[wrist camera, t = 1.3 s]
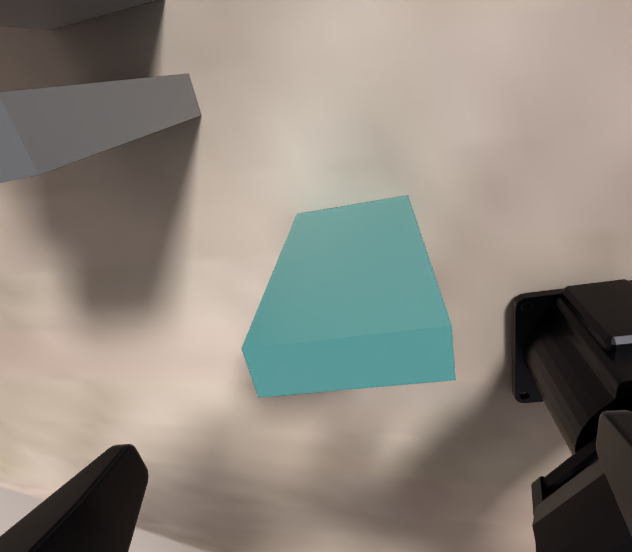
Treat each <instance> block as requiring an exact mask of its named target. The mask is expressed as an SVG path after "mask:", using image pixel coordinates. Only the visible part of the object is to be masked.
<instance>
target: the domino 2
mask: <svg viewBox="0 0 632 552" xmlns="http://www.w3.org/2000/svg"><path fill="white" fill-rule="evenodd" d="M242 352H243V355H244V357H245V360H246V363H247V366H248V369H249V372H250V375H251V378H252V380H253V383H254V386H255V389H256V392H257V395H258V398H260V397H271V396H283V395H294V394H305V393H316V392H328V391H339V390H350V389H361V388H373V387H384V386H395V385H406V384H418V383H429V382H440V381H451V380H456V379H455V365H454V352H453V338H452V325H451V322H450V319H449V316H448V313H447V310H446V307H445V304H444V301H443V298H442V295H441V292H440V289H439V286H438V283H437V280H436V277H435V274H434V271H433V268H432V265H431V262H430V259H429V256H428V253H427V250H426V247H425V244H424V241H423V238H422V235H421V232H420V229H419V226H418V223H417V220H416V217H415V214H414V211H413V208H412V205H411V202H410V199H409V196H408V195H407V196H401V197H395V198H389V199H383V200H377V201H371V202H365V203H359V204H353V205H347V206H341V207H335V208H329V209H323V210H318V211H312V212H306V213H300V214H297V215H296V218H295V220H294V222H293V225H292V227H291V230H290V232H289V235H288V237H287V239H286V242H285V244H284V247H283V249H282V252H281V254H280V256H279V259H278V261H277V264H276V266H275V269H274V271H273V273H272V276H271V278H270V281H269V283H268V286H267V288H266V290H265V293H264V295H263V298H262V300H261V303H260V305H259V307H258V310H257V312H256V315H255V317H254V320H253V322H252V324H251V327H250V329H249V332H248V334H247V337H246V339H245V341H244V344H243V346H242Z"/></svg>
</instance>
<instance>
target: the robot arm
mask: <svg viewBox="0 0 632 552" xmlns="http://www.w3.org/2000/svg"><path fill="white" fill-rule="evenodd" d="M526 302H530V303H529V305H527V306H526V307H521V306H522V304H524V303H526ZM512 392H513V395H514V397H515V399H516V400H517V401H518V402H520V403H530V402H543V401H544V402H545V404H546V406H547V408H548V410H549V412H550V413H551V415H552V417H553V419H554V421H555V423H556V425H557V427H558V429H559V430H560V432H561V434H562V436H563V438H564V440H565V442H566V444H567V446H568V447H569V449H570V451H571V453H572V456H571V457H569V458H568V459H567V460H566V461H564V462H563V463H562V464H561V465H559V466H558V467H557V468H555V469H554V470H553V471H552V472H550V473H549V474H548V475H547V476H545V477H543V476H541V477H539V478H538V479H537V480H536V481H534V482H533V483H532V485H531V487H532V501H533V515H534V519H533V525H532V526H533V531H534V536H535V542H536V552H632V280H630V281H627V280H625V279H623V280H615V281H607V282H598V283H590V284H582V285H574V286H567V287H565V288H563V289H556V290H548V291H539V292H531V293H524V294H520V295H518V296H517V297H516V298H515V299H514V301H513V366H512ZM523 392H526V393H525V394H521V393H523ZM147 483H148V470H147V467H146V466H145V464H144V462H143V460H142V458H141V457H140V455H139V453H138V451H137V449H136V448H135V446H133V445H132V444H122V445H114V446H112V447H110V448H109V449H107V450H106V451H105V452H104V453H103V454H101V455H100V456H99V457H98V458H96V459H95V460H94V461H93V462H91V463H90V464H89V465H88V466H86V467H85V468H84V469H83V470H82V471H80V472H79V473H78V474H77V475H75V476H74V477H73V478H72V479H70V480H69V481H68V482H67V483H66V484H64V485H63V486H62V487H61V488H59V489H58V490H57V491H56V492H54V493H53V494H52V495H51V496H49V497H48V498H47V499H46V500H45V501H43V502H42V503H41V504H40V505H38V506H37V507H36V508H35V509H33V510H32V511H31V512H30V513H29V514H27V515H26V516H25V517H24V518H22V519H21V520H20V521H19V522H17V523H16V524H15V525H14V526H12V527H11V528H10V529H9V530H8V531H6V532H5V533H4V534H3V535H1V536H0V552H128V550H129V547H130V543H131V540H132V536H133V532H134V529H135V526H136V522H137V519H138V515H139V511H140V508H141V504H142V501H143V497H144V494H145V490H146V487H147Z"/></svg>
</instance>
